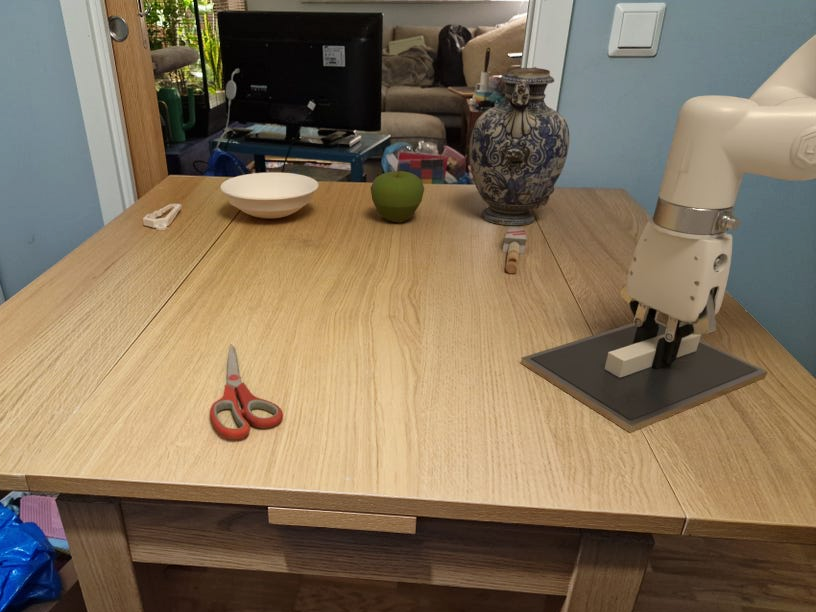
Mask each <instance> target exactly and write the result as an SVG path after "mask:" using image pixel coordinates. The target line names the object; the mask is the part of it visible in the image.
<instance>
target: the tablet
mask: <svg viewBox="0 0 816 612" xmlns="http://www.w3.org/2000/svg"><path fill="white" fill-rule="evenodd" d="M656 323H657V324H659V330H658V334H657V336H660V335H663V334H665V331H666V327H667V324H665V323H663V322H661V321H659V320H658V319H657V320H656ZM636 330H637V326H635V324H634V322H633V323H629V324H626V325H622V326H619V327H616V328H613V329H609V330H606V331H603V332H600V333H596V334H594V335H590V336H587V337H583V338H580V339H576V340H574V341H571V342H567V343H564V344H561V345H557V346H554V347H552V348H548V349H545V350H541V351H538V352H535V353H532V354H529V355H526V356H522V357H521V358H520V364H521V365H523V366H524V367H526V368H527V369H529V370H530V371H532V372H533V373H534V374H537V375H539V377H542V378H543V379H544V380H546V381H547V382H549V383H551V384H553V385H554V386H556V387H557V388H558V389H560V390H562V391H563V392H565V393H566V394H568V395H569V396H571V397H573V398H574V399H576V400H577V401H579V402H581V403H582V404H584V405H585V406H587V407H589V408H590V409H592V410H593V411H595V412H597V413H598V414H600V415H601V416H603V417H604V418H605V419H607V420H609V421H610V422H612V423H614V424H616V426H618V427H620V428H622V429H623V430H625V431H626V432H627V433H634V432H635V431H638V430H640V429H643V428H645V427H648V426H650V425H652V424H655V423H658V422H660V421H662V420H665V419H667V418H669V417H673V416H674V415H677V414H679V413H682V412H684V411H687V410H690V409H692V408H694V407H697V406H699V405H702V404H704V403H706V402H709V401H711V400H714V399H716V398H719V397H721V396H724V395H726V394H729V393H731V392H734V391H736V390H739V389H741V388H743V387H745V386H748V385H750V384H753V383H755V382H759V381H760V380H762V379H766V377H767V374H768V371H767V370H765V369H763V368H761V367H759V366H756V365H754V364H752V363H750V362H747V361H745V360H743V359H741V358H739V357H737V356H735V355H732V354H730V353H729V352H726V351H725V350H722V349H720V348H718V347H715V346H713V345H711V344H709V343H706V342H704V341H702V340H701V339H700V340H699V344H698V347H697V350H696V351H695V352H692V353H689V354H686V355H683V356H681V357H678V358H676V359H675V361H674V362H673V363H672V364H670V365H667V366H664V367H661V368H658V369H656V368H654V367H653V366H652V367H649V368H647V369H644V370H641V371H638V372H635V373H632V374H629V375H627V376H624V377H621V378H619V377H617V376H616V375H614V374H612V373H610V372H609V371H607V370H605V369H604V368H605V364H606V360H607V356H608V352H611V351H614V350H617V349H620V348H623V347H626V346H629V345H632V344H633V342H634V338H635V334H636Z"/></svg>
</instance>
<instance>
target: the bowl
mask: <svg viewBox="0 0 816 612" xmlns="http://www.w3.org/2000/svg"><path fill="white" fill-rule="evenodd" d="M219 188H220V190H221V192H222V193H223V194H224V195H225V196H226V198H227V201H228V202H229V204H230V205H231V206H233V207H235V208H237V209H239V210H240V211H242V212H243V213H245V214H246V215H249V216H252V217H254V218H258V219H267V220H268V219H269V220H271V219H272V220H273V219H281V218H285V217H288V216H291V215H292V214H295V213H296V212H298V211H300V210H301V209H302V208H303V207H304V206H306V205H308V204H309V203H310V202H311V201H312V198H313V196H314V193H315V192H316V190H318V188H319V182H318V181H317V180H316V179H315V178H312V177H310V176H307V175H304V174H298V173H292V172H274V171H273V172H255V173H247V174H241V175H237V176H235V177H231V178H229V179H226V180H224V181H223V182H222V183H221V184H220V187H219Z"/></svg>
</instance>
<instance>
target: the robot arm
mask: <svg viewBox="0 0 816 612" xmlns="http://www.w3.org/2000/svg"><path fill="white" fill-rule="evenodd" d="M672 135H673V136H672V140H671V144H670V147H669V152H668V155H667V161H666V164H665V168H664V173H663V176H662V181H661V185H660V189H659V192H658V197H657V199H656V205H655V209H654V213H653V218H649V220H647V222H646V224H645V226H644V228H643V230H642V232H641V235H640V237H639V239H638V241H637V244H636V247H635V250H634V252H633V255H632V258H631V260H630V261H631V262H630V264H629V268H628V271H627V276H626V280H625V284H624V285H623V287H622V288H621V289H620V291H619V295H620V297H621V298H622V299H623V300H624V301H625V302H626V303H627V305H629V308H630V310H631V312H632V315H633V317H634V319H633V323H634V324H635V326H637V330H636V334H635V338H634V342H633V344H635V343H638V342H642V341H645V340H648V339H651V338H654V337H657V334H658V330H659V324H657V323H656V320H657V321H658V317H659V314H660V313H661V314H664V315H667V316H668V318H667V323H666V325H667V327H666V331H665V335H664V337H663V338H660V339H659V340H658V344H657V347H656V353H655V357H654V360H653V364H652V366H653V367H654V368H656V369H658V368H661V367H664V366H667V365H670V364H672V363H673V362H674V361H675V359H676V357H677V354H678V350H679V347H680V343H681V340H682V338H684V337H686V336H689V335H691V334H694V335H698V334H701V335H709V334H713V333H715V332H716V331H717V330H718V329H717V320H716V315H718V314H719V311H720V309H721V308H722V307H721V306H722V303H723V300H724V296H725V292H726V288H727V285H728V279H729V275H730V269H731V263H732V256H733V255H732V254H733V235H732V234H730V233H728V231H732V232H735V231H737V230H738V229H739V227H740V226H741V219H740V218H737V217H735V216H734V211H735V204H736V200H737V197H738V193H739V191H740V187H741V184H742V181H743V177H744V174H751V175H755V176H761V177H767V178H770V179H771V178H773V179H777V180H783V181H788V182H803V181H810V180H815V179H816V34H814V36H811V38H809V39H808V40H807V41H806V42H804V43H803V44H802V45H801V46H800V47H798V48H797V49H796V50H795V51H794V52H793V53H792V54H791V55H790V56H789V57H788V58H787V59H786V60H785V61H784V62H782V64H780V66H779V67H777V69H776V70H775V71H774V72H773V73H772V74H770V76H769V77H767V79H766V80H765V81H764V82H763V83H762V84H761V85H760V86H759V87H758V88H757V90H756V91H755V92H753V94H752V95H751V96H750V97H749V98H746V97H745V98H744V97H737V96H731V95H715V94H714V95H712V94H711V95H698V96H694V97H691V98H689V99H687V100H686V101H685V102H684V103H683V104H682V106H681V108H680V110H679V112H678V115H677V120H676V124H675V127H674V131H673V134H672ZM697 320H698V321H697Z"/></svg>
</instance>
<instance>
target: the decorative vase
mask: <svg viewBox="0 0 816 612" xmlns="http://www.w3.org/2000/svg"><path fill="white" fill-rule="evenodd" d="M499 81H500V82H502V83H505V87H506V92H505V94H504V97H505V99H504V101H503V103H501V104H500V105H496V106H493V107H491V108H489V109H486V110H485V111H483V112H482V113H481V114H480V115H479V117H478V118H477V119H476V121H475V123H474V124H473V128H472V130H471V134H470V135H471V136H470V141H469V151H468V152H469V154H468V156H469V166H470V171H471V175H472V179H473V182H474V185H475V188H476V190H477V192H478V194H479V196H480V197H481V199H482V200H483V201H484V202H485V203H486V204H487V205H488V206H487V207H485V208H484V209H483V210H482V212H481V217H482V218H483V219H484V220H485V221H487V222H489V223H492V224H495V225H500V226H508V227H509V226H511V227H522V226H527V225H530V224H533V222H534V221H535V214H534V213H533V212H532V211H530V210H535V209H537V210H538V209H539V208H540V207H542V206H547V205H548V202H549V200H550V196H551V195H552V194H553V193H554V192H555V184H556V183H557V181H558V180H559V178H560V176H561V174H562V172H563V169H564V167H565V164H566V160H567V158H568V152H569V147H570V129H569V125H568V123H567V121H566V119H565V118H564V116H562V115H561V114H560V113H559V112H558V111H556V110H555V109H553V108H551V107H549V106H547V104H546V102H545V98H546V94H545V91H546V89H547V88H548V84H553V83H554V82H555V78H554V77H553V76H551V72H550V70H549V69H545V68H539V67H536V66H534V67H516V68H515V67H514V68H508V69H506V71H505V74H503V75H502V76H501V77H500V79H499Z"/></svg>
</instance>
